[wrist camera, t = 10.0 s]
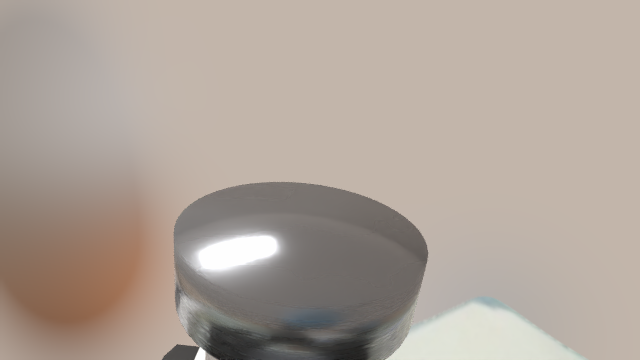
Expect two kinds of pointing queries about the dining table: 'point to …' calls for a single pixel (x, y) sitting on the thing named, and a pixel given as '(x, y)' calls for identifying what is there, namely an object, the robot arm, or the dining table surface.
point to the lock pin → (296, 273)
